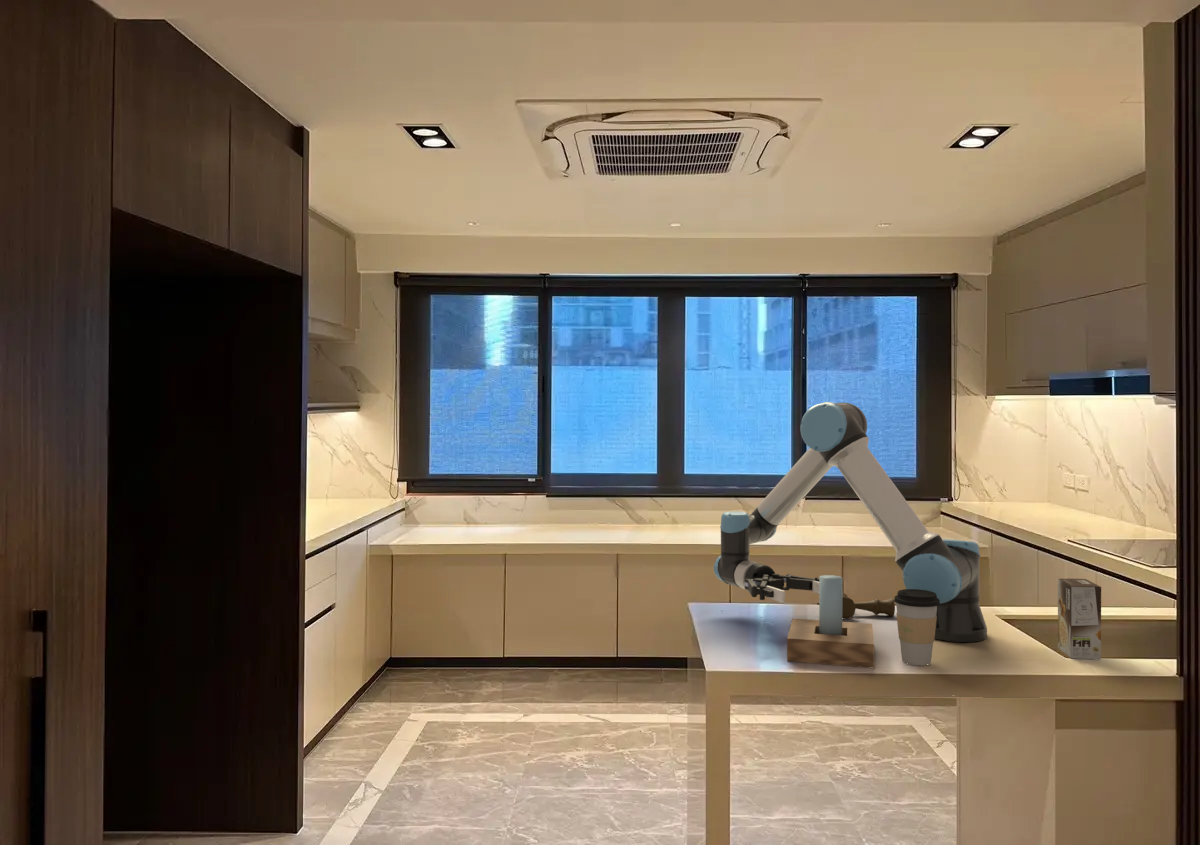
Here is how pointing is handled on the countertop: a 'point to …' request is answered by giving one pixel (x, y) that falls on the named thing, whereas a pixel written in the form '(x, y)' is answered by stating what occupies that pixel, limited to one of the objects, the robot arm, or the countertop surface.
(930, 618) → the coffee cup
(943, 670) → the countertop surface
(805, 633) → the socket block
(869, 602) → the kendama
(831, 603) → the peg
